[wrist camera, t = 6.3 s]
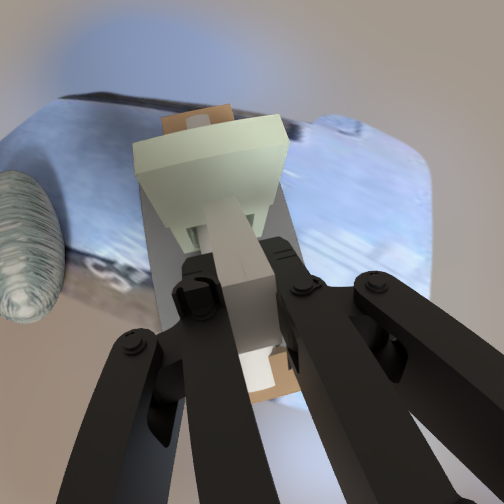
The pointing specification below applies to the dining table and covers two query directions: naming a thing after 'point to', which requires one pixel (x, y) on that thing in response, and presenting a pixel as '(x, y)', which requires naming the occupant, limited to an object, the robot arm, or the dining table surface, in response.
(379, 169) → the dining table surface
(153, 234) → the rig
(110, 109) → the dining table surface
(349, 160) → the dining table surface
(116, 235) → the dining table surface
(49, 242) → the grey rounded lump
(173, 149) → the sleeve
